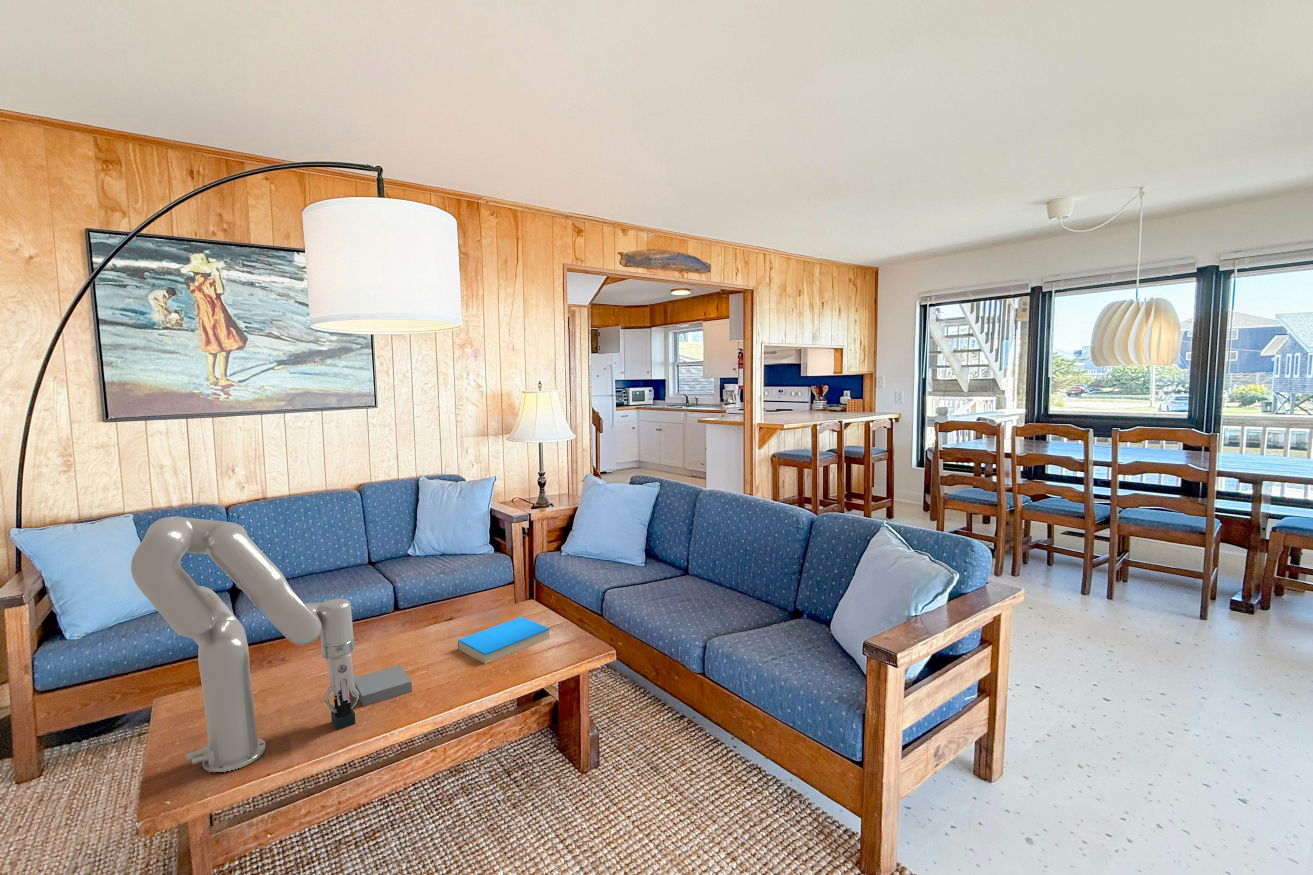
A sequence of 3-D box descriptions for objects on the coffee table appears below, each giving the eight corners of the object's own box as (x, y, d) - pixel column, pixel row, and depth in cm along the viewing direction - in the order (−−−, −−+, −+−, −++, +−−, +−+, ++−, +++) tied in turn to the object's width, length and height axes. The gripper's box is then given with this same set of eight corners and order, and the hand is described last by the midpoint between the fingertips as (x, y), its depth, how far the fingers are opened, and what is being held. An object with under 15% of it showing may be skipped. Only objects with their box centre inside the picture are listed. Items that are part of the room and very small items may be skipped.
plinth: (363, 706, 172) (362, 696, 171) (354, 687, 182) (353, 678, 182) (412, 691, 179) (411, 681, 179) (400, 674, 190) (399, 664, 189)
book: (550, 628, 212) (485, 652, 194) (550, 640, 212) (486, 666, 194) (520, 615, 224) (456, 638, 205) (520, 627, 224) (457, 650, 206)
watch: (363, 720, 164) (361, 681, 163) (329, 732, 159) (327, 691, 158) (356, 711, 169) (354, 673, 167) (324, 723, 163) (321, 683, 162)
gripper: (359, 654, 157) (365, 723, 159) (347, 633, 170) (352, 697, 172) (326, 663, 153) (332, 733, 155) (317, 640, 166) (322, 706, 168)
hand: (343, 714), depth 164 cm, fingers closed on watch, 3 cm apart
